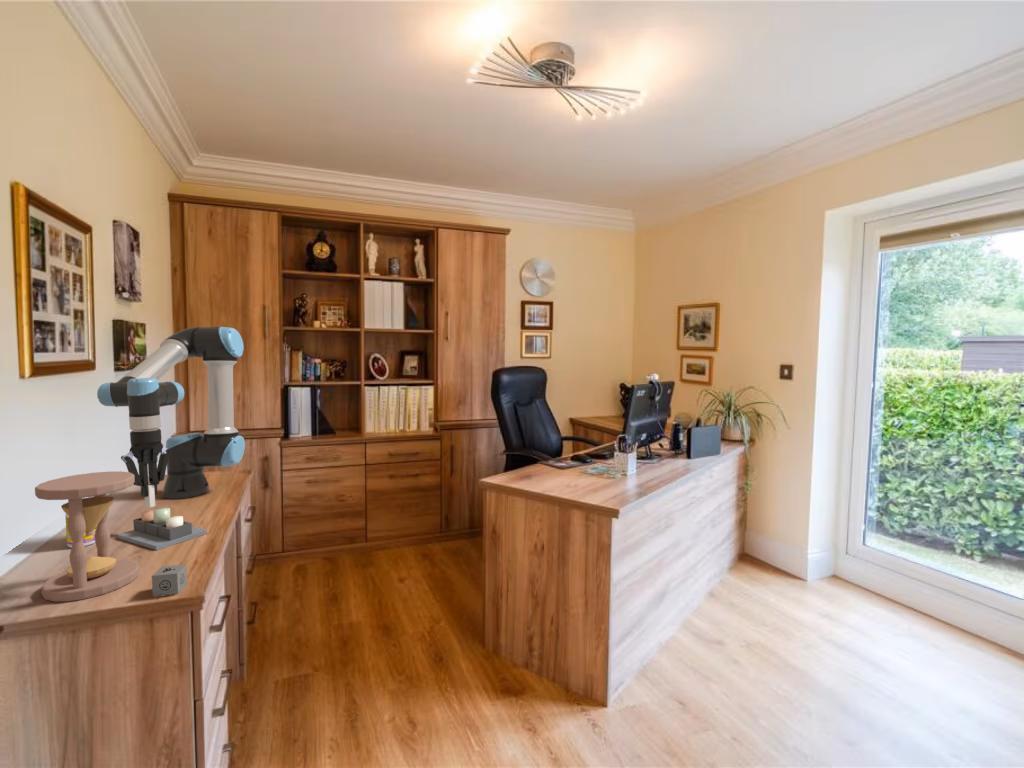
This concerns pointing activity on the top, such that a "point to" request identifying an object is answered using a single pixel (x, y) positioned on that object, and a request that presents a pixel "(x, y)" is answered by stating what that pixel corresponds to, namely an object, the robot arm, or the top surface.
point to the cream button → (174, 521)
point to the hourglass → (85, 515)
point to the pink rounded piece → (147, 515)
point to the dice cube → (169, 580)
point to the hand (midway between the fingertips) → (150, 506)
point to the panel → (160, 534)
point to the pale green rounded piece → (161, 515)
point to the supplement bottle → (86, 539)
